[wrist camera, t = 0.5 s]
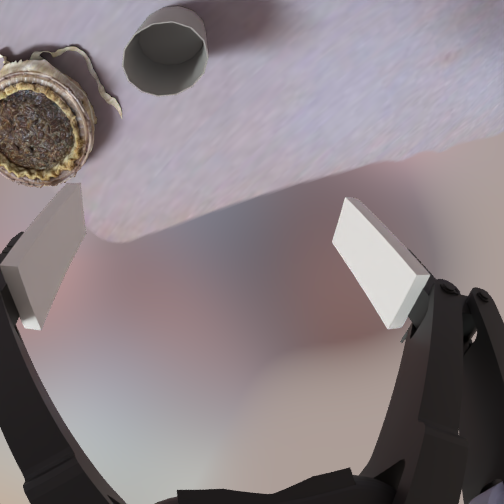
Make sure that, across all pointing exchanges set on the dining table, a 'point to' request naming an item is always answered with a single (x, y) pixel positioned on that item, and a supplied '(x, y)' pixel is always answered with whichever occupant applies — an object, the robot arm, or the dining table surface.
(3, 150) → the pie
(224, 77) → the dining table surface
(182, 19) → the cup
